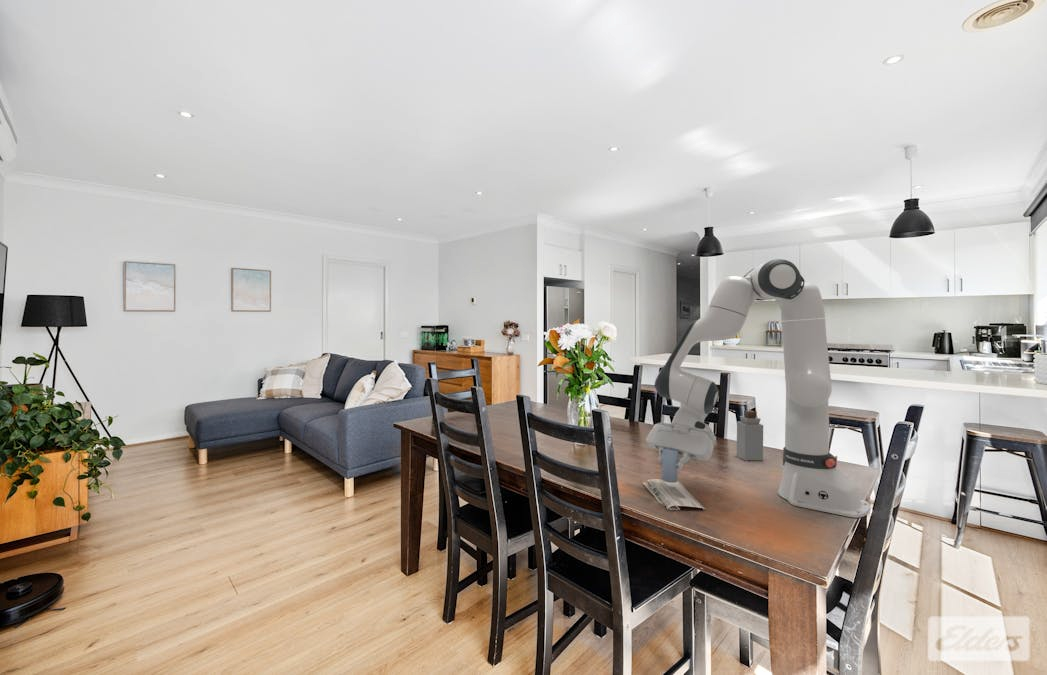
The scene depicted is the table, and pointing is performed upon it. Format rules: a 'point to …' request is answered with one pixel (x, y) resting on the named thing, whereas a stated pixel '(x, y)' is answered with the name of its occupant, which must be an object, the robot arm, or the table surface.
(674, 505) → the newspaper
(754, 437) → the perfume bottle
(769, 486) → the table surface
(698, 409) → the robot arm
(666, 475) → the blue peg
